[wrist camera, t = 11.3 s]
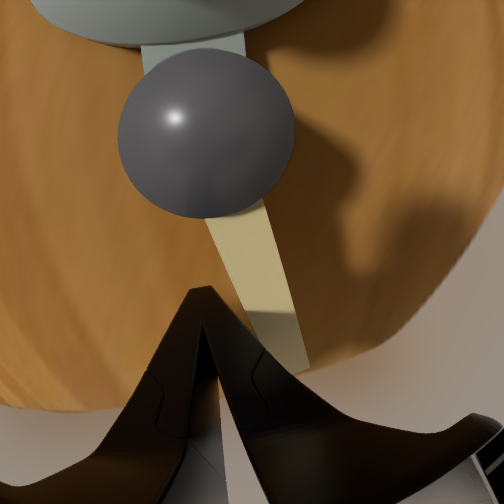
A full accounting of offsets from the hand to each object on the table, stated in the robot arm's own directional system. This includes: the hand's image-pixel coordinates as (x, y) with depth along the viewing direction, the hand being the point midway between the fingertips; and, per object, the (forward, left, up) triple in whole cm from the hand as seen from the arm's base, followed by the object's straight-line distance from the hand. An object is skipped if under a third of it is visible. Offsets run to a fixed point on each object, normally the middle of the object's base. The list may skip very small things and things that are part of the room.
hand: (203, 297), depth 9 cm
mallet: (-1, -2, -2) cm, 3 cm away
